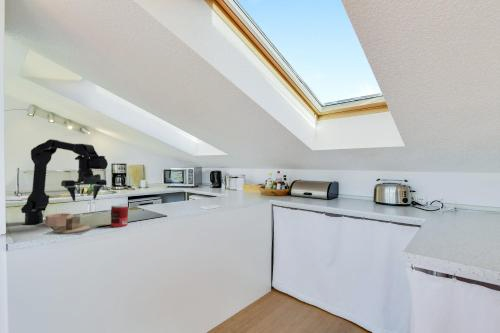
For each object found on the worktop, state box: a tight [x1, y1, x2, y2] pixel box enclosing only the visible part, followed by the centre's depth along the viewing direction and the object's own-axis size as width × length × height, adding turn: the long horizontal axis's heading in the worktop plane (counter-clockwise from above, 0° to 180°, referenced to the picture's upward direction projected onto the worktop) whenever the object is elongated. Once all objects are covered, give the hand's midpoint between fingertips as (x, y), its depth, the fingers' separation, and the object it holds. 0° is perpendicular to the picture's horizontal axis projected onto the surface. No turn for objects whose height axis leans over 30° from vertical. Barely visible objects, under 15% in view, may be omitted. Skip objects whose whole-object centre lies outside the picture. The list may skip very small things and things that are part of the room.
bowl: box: [44, 212, 73, 228], centre depth 133 cm, size 10×10×5 cm
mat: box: [42, 225, 100, 236], centre depth 122 cm, size 16×16×1 cm
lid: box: [53, 216, 91, 234], centre depth 122 cm, size 14×14×6 cm
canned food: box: [110, 203, 129, 228], centre depth 133 cm, size 8×8×11 cm
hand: (84, 199), depth 130 cm, fingers open, 9 cm apart
